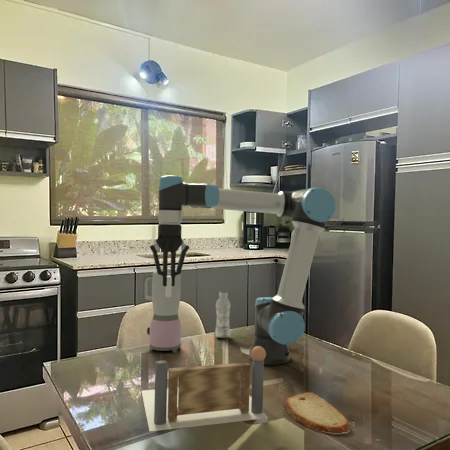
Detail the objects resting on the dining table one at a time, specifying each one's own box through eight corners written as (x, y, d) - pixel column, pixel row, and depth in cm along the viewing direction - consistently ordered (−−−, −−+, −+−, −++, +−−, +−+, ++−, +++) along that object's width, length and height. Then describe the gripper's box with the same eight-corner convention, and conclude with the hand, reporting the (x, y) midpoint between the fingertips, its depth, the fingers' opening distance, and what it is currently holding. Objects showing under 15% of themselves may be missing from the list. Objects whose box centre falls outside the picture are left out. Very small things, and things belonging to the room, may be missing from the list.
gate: (168, 421, 103) (170, 371, 103) (167, 417, 105) (168, 368, 105) (248, 412, 109) (250, 364, 109) (246, 408, 111) (247, 362, 111)
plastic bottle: (228, 340, 179) (229, 293, 178) (213, 339, 180) (214, 293, 180) (231, 336, 185) (232, 291, 185) (216, 335, 186) (217, 290, 186)
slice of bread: (350, 439, 100) (351, 423, 100) (276, 426, 106) (277, 411, 106) (350, 407, 118) (350, 394, 118) (286, 398, 123) (287, 385, 123)
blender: (184, 345, 170) (186, 267, 170) (176, 354, 158) (178, 270, 158) (146, 342, 172) (148, 265, 172) (136, 352, 160) (138, 269, 160)
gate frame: (240, 385, 130) (242, 326, 130) (269, 422, 107) (271, 350, 107) (141, 394, 122) (142, 331, 121) (149, 436, 99) (151, 358, 98)
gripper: (187, 224, 140) (186, 293, 141) (148, 223, 137) (147, 294, 137) (192, 224, 133) (190, 297, 134) (150, 223, 130) (149, 299, 130)
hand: (168, 296), depth 135 cm, fingers closed
